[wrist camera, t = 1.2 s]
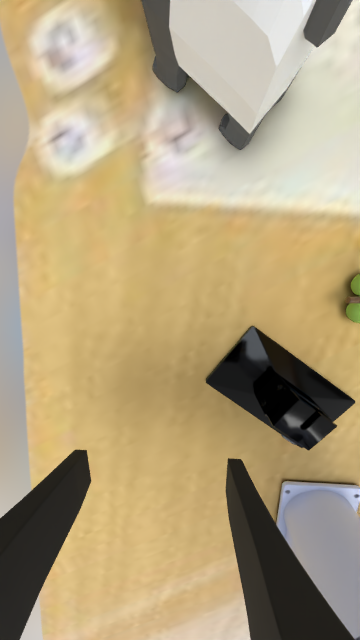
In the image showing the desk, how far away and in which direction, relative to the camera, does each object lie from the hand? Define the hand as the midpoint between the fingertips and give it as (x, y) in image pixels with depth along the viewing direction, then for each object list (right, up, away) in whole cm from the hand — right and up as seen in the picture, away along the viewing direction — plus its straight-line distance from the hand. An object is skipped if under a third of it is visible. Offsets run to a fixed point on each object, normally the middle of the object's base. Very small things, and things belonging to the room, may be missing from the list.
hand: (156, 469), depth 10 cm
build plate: (+11, +1, +9) cm, 14 cm away
